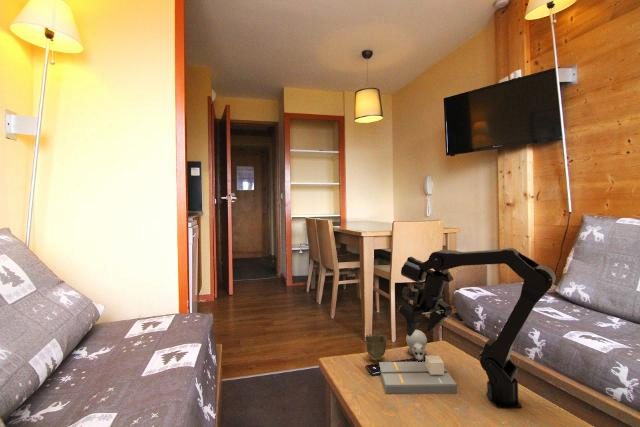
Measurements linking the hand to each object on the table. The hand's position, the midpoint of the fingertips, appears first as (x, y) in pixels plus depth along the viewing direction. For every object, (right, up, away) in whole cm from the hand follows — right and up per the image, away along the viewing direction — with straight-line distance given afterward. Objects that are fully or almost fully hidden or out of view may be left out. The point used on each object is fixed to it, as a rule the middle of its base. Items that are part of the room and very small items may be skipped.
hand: (419, 333), depth 104 cm
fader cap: (+4, -11, -4) cm, 12 cm away
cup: (-12, -13, +11) cm, 21 cm away
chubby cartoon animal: (+3, -13, +13) cm, 19 cm away
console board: (-2, -13, -4) cm, 14 cm away
